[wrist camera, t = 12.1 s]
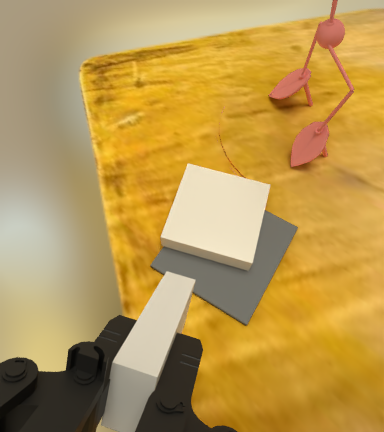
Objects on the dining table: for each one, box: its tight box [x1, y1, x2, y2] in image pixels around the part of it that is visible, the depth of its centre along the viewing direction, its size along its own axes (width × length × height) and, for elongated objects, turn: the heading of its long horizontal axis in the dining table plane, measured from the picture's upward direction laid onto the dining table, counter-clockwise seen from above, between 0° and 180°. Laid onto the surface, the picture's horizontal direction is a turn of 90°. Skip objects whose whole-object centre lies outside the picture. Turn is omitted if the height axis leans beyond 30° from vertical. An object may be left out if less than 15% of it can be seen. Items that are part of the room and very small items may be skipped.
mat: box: [151, 210, 298, 325], centre depth 39 cm, size 12×13×1 cm
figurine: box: [217, 0, 354, 178], centre depth 32 cm, size 15×26×35 cm, turn 4°
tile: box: [161, 164, 270, 271], centre depth 39 cm, size 10×3×10 cm
